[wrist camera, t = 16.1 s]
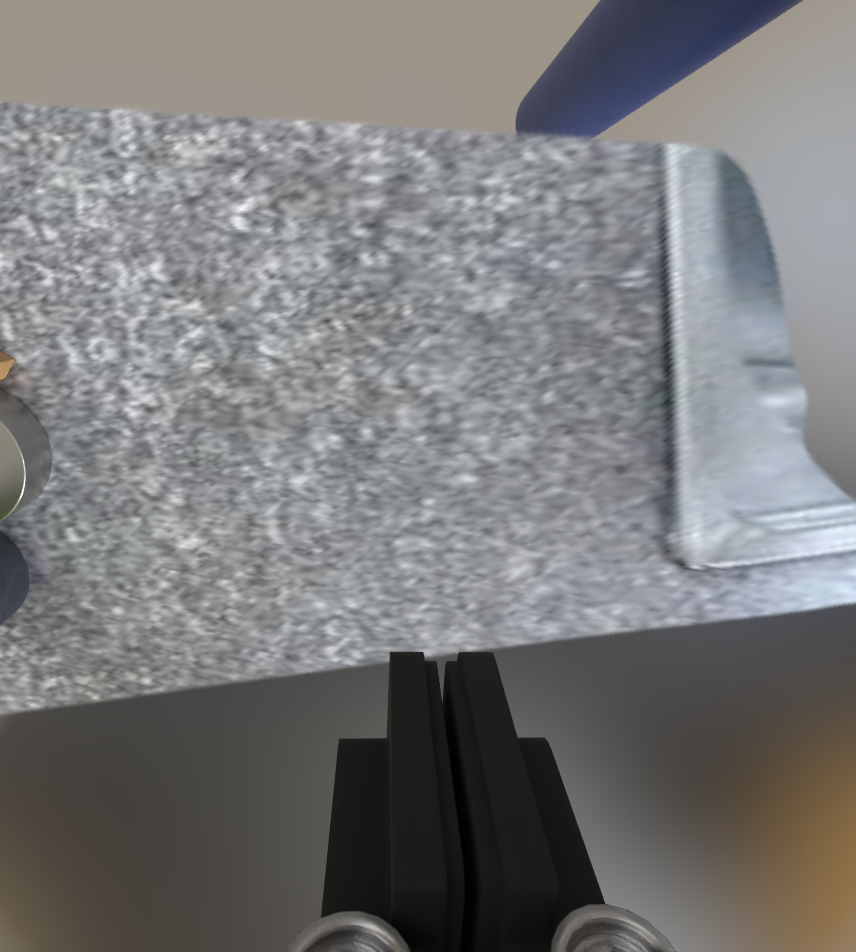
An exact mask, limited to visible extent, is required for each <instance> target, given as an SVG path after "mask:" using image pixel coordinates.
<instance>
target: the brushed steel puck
mask: <svg viewBox="0 0 856 952" xmlns="http://www.w3.org/2000/svg"><path fill="white" fill-rule="evenodd" d="M51 465H52V454H51V448H50V444H49V441H48V437H47V435H46V433H45V431H44V429H43V427H42V425H41V424H40V422H39V420H38V419H37V418H36V417H35V415H34V414H33V413H32V412H31V411H30V410H29V409H28V408H27V407H26V406H25V405H24V404H23V403H22V402H20V401H19V400H18V399H17V398H15V397H13V396H12V395H10V394H9V393H7V392H5V391H3V390H1V389H0V521H2V520H4V519H5V518H7V517H8V516H10V515H12V514H13V513H15V512H16V511H18V510H19V509H21V508H22V507H24V506H26V505H27V504H29V503H30V502H31V501H33V500H34V499H35V498H36V497H37V496H38V495H39V494H40V493H41V491H42V490H43V489H44V487H45V485H46V483H47V481H48V479H49V475H50V472H51Z"/></svg>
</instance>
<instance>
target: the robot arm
mask: <svg viewBox="0 0 856 952" xmlns="http://www.w3.org/2000/svg"><path fill="white" fill-rule="evenodd" d="M285 952H676V950H675V949H674V947H673V946H672V945H671V943H670V942H669V941H668V939H667V938H666V937H665V936H664V935H663V934H662V933H661V932H660V931H658V930H657V929H656V928H655V927H654V926H653V925H652V924H651V923H649V922H648V921H647V920H645V919H643V918H641V917H639V916H638V915H636V914H634V913H633V912H631V911H629V910H626V909H623V908H619V907H615V906H612V905H608V904H605V902H604V899H603V896H602V893H601V890H600V887H599V884H598V882H597V879H596V876H595V873H594V870H593V867H592V864H591V861H590V859H589V856H588V853H587V850H586V847H585V844H584V841H583V839H582V836H581V833H580V830H579V827H578V824H577V821H576V819H575V816H574V813H573V810H572V807H571V805H570V801H569V799H568V796H567V793H566V790H565V787H564V784H563V781H562V778H561V776H560V773H559V770H558V767H557V764H556V761H555V758H554V756H553V753H552V750H551V748H550V745H549V743H548V741H547V740H546V739H545V738H517V734H516V731H515V727H514V724H513V720H512V717H511V713H510V710H509V706H508V703H507V699H506V696H505V692H504V688H503V685H502V681H501V678H500V674H499V671H498V667H497V664H496V660H495V657H494V655H493V653H492V652H459V654H458V658H457V661H447V662H446V665H445V676H444V690H443V704H442V698H441V690H440V683H439V676H438V668H437V662H436V661H425V660H424V653H423V652H390V665H389V691H388V719H387V738H379V739H339V745H338V753H337V763H336V773H335V783H334V793H333V803H332V813H331V823H330V833H329V843H328V853H327V863H326V873H325V883H324V893H323V903H322V913H321V918H320V919H318V920H317V921H315V922H314V923H313V924H311V925H310V926H308V927H307V928H306V929H304V930H303V931H301V932H300V933H299V935H298V936H297V937H296V938H295V940H294V941H293V942H292V943H291V945H290V946H289V947H288V948H287V949H286V951H285Z"/></svg>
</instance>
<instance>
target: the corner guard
mask: <svg viewBox="0 0 856 952" xmlns="http://www.w3.org/2000/svg"><path fill="white" fill-rule="evenodd" d="M14 361H15V359H14V358H12V357H11V356H9V355H7V354H6V353H4V352H3V351H1V350H0V380H1V379H5V378H6V376H7V374H8V372H9V370H10V368H11V366H12V364H13V362H14Z"/></svg>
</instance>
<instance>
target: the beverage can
mask: <svg viewBox="0 0 856 952" xmlns="http://www.w3.org/2000/svg"><path fill="white" fill-rule="evenodd" d="M28 588H29V574H28V569H27V566H26V563H25V561H24V558H23V556H22V554H21V552H20V551H19V549H18V548H17V547H16V545H15V544H14V543H13V542H12V541H11V540H10V539H9V538H8V537H6V536H5V535H4V534H2V533H1V532H0V625H1V624H3V623H4V622H5V621H6V620H7V619H8V618H9V617H10V616H11V615H12V614H14V613H15V612H16V611H17V610H18V609H19V607H20V606H21V605H22V603H23V602H24V600H25V598H26V595H27V592H28Z"/></svg>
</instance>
